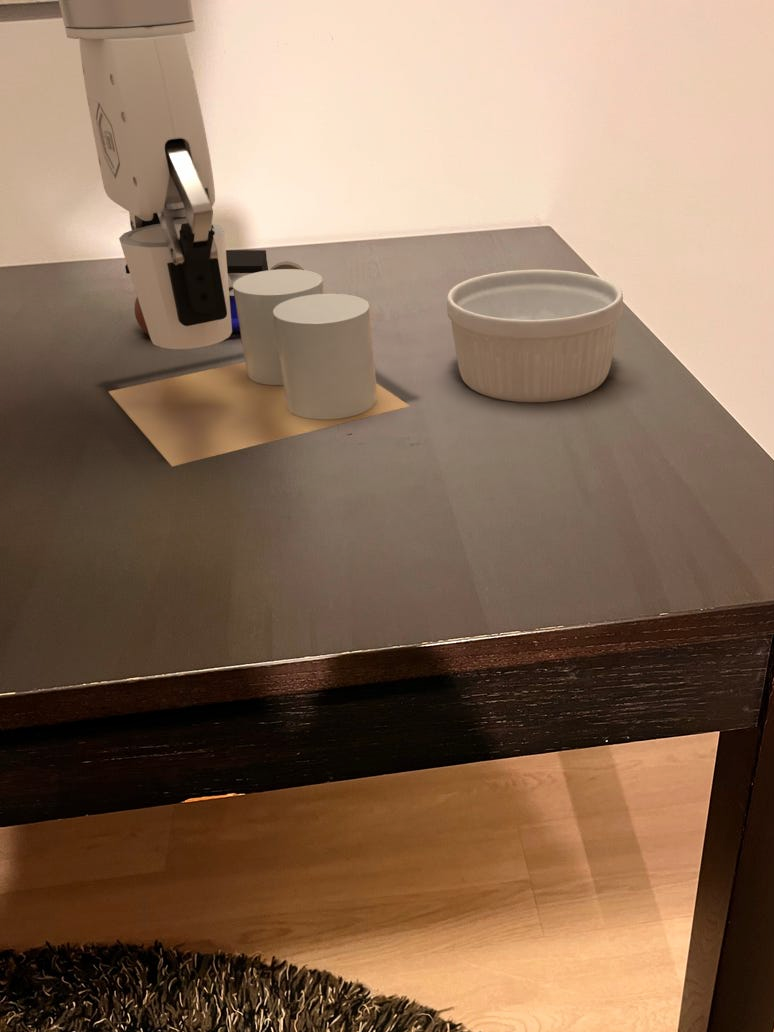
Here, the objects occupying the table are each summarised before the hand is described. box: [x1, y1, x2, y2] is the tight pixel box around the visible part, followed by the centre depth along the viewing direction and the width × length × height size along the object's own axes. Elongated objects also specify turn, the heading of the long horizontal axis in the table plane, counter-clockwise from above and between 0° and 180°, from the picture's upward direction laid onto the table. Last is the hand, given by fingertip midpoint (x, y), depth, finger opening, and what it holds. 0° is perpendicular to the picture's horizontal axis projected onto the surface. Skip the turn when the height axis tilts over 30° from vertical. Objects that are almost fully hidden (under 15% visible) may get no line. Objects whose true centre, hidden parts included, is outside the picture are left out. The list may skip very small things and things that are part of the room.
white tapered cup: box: [118, 222, 233, 350], centre depth 69 cm, size 7×7×7 cm
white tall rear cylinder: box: [232, 269, 325, 386], centre depth 79 cm, size 7×7×7 cm
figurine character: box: [124, 249, 305, 336], centre depth 88 cm, size 7×8×15 cm
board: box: [107, 361, 411, 467], centre depth 77 cm, size 18×16×1 cm
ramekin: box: [446, 269, 624, 403], centre depth 77 cm, size 13×13×7 cm
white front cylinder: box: [273, 293, 377, 420], centre depth 73 cm, size 7×7×7 cm
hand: (185, 305), depth 70 cm, fingers closed on white tapered cup, 6 cm apart
